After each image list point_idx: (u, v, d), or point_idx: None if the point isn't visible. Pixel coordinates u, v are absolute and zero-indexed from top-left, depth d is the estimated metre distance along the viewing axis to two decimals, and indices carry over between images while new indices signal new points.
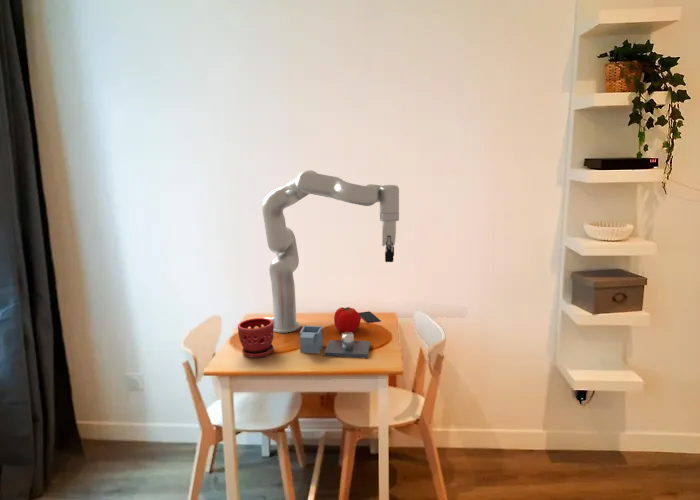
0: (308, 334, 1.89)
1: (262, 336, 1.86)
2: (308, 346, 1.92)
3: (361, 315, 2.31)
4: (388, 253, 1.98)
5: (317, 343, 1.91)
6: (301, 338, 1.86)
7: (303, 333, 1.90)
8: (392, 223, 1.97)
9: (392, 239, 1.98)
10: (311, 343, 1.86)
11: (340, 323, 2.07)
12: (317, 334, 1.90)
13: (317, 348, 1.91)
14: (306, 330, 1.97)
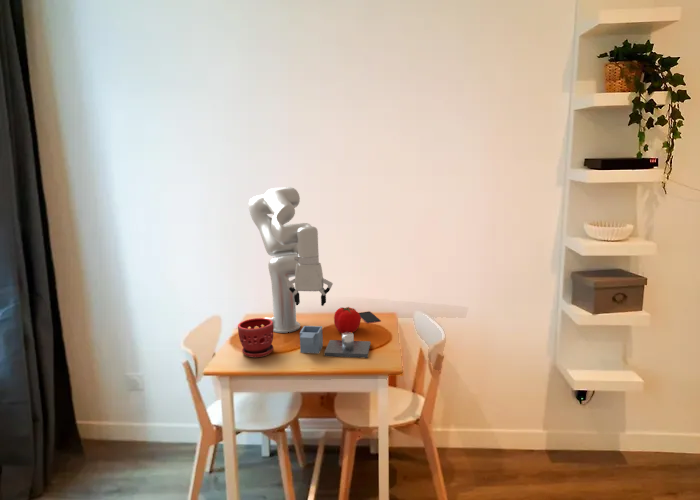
0: (308, 334, 1.89)
1: (262, 336, 1.86)
2: (308, 346, 1.92)
3: (361, 315, 2.31)
4: (325, 295, 1.90)
5: (317, 343, 1.91)
6: (301, 338, 1.86)
7: (303, 333, 1.90)
8: (320, 264, 1.89)
9: None
10: (311, 343, 1.86)
11: (340, 323, 2.07)
12: (317, 334, 1.90)
13: (317, 348, 1.91)
14: (306, 330, 1.97)
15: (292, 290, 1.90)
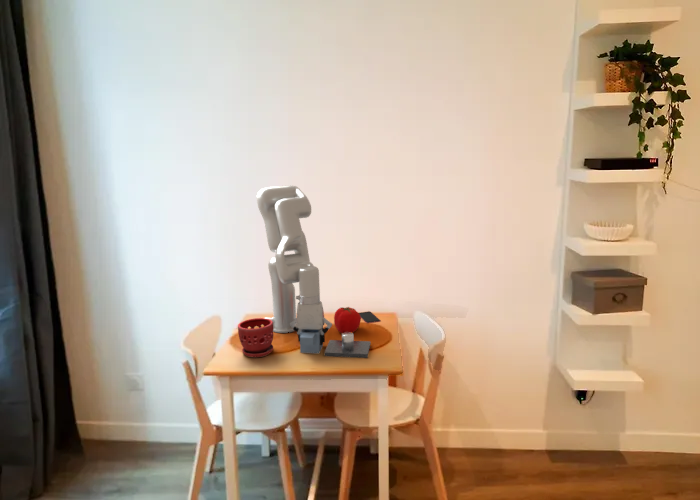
0: (308, 334, 1.89)
1: (261, 336, 1.86)
2: (308, 346, 1.92)
3: (361, 315, 2.31)
4: (323, 335, 1.93)
5: (317, 343, 1.91)
6: (301, 338, 1.86)
7: (303, 333, 1.90)
8: (321, 303, 1.92)
9: None
10: (311, 343, 1.86)
11: (340, 323, 2.07)
12: (317, 334, 1.90)
13: (317, 348, 1.91)
14: (306, 330, 1.97)
15: (296, 330, 1.94)
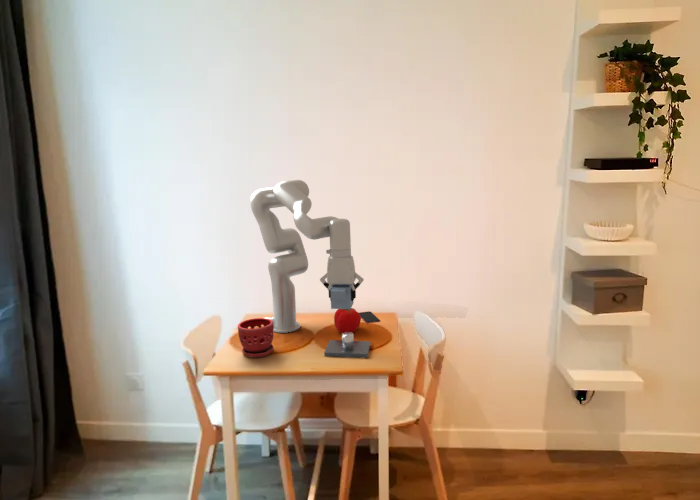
0: (339, 288, 1.83)
1: (262, 336, 1.86)
2: (339, 302, 1.86)
3: (361, 315, 2.31)
4: (355, 290, 1.87)
5: (348, 298, 1.85)
6: (332, 292, 1.81)
7: (334, 288, 1.84)
8: (352, 257, 1.87)
9: None
10: (343, 297, 1.80)
11: (340, 323, 2.07)
12: (348, 289, 1.84)
13: (348, 304, 1.85)
14: (336, 287, 1.92)
15: (326, 285, 1.88)
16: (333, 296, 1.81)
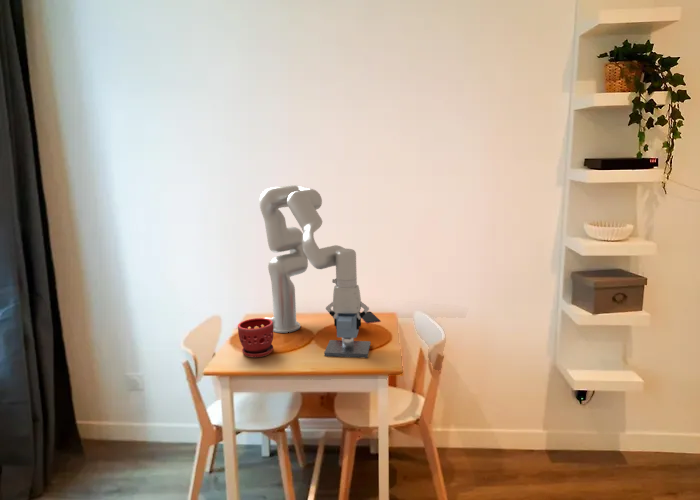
0: (345, 318, 1.85)
1: (262, 336, 1.86)
2: (345, 330, 1.88)
3: None
4: (360, 319, 1.90)
5: (354, 327, 1.87)
6: (339, 322, 1.83)
7: (340, 317, 1.86)
8: (358, 286, 1.89)
9: None
10: (349, 327, 1.83)
11: None
12: (354, 318, 1.86)
13: (354, 332, 1.88)
14: (342, 315, 1.94)
15: (332, 314, 1.90)
16: (339, 326, 1.83)
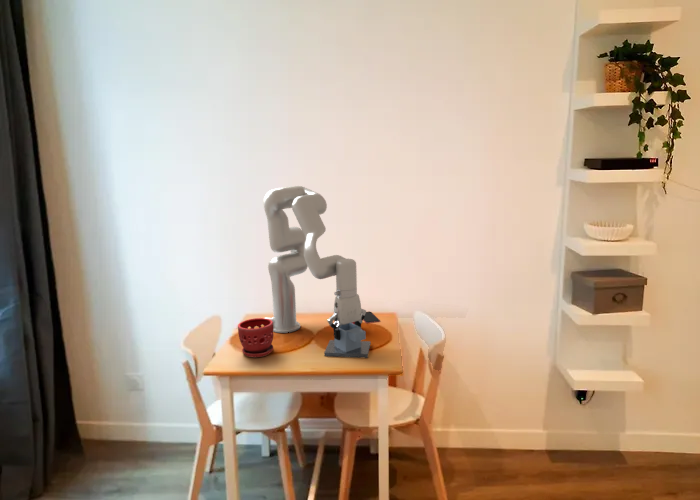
0: (355, 330, 1.88)
1: (261, 336, 1.86)
2: (352, 343, 1.90)
3: None
4: None
5: None
6: (356, 335, 1.84)
7: (349, 331, 1.87)
8: None
9: None
10: (364, 337, 1.87)
11: None
12: (359, 328, 1.91)
13: (359, 342, 1.92)
14: None
15: (334, 326, 1.87)
16: (356, 338, 1.85)
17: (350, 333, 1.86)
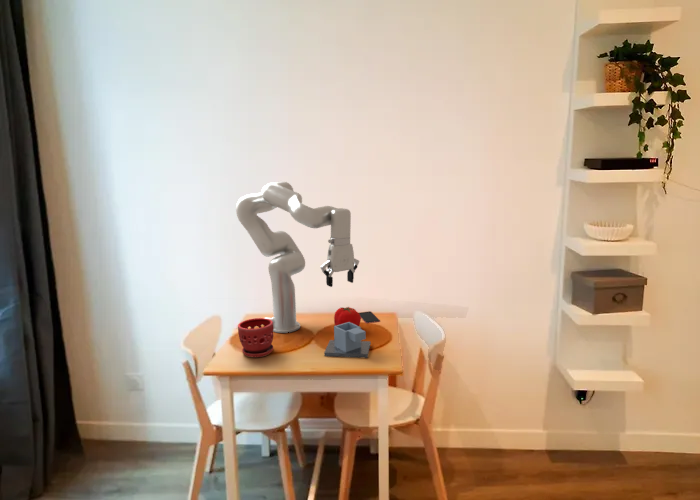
0: (355, 330, 1.88)
1: (261, 336, 1.86)
2: (352, 343, 1.90)
3: (361, 315, 2.31)
4: None
5: None
6: (356, 335, 1.84)
7: (349, 331, 1.87)
8: None
9: None
10: (364, 337, 1.87)
11: (340, 323, 2.07)
12: (359, 328, 1.91)
13: (359, 342, 1.92)
14: None
15: (327, 273, 1.94)
16: (356, 338, 1.85)
17: (350, 333, 1.86)
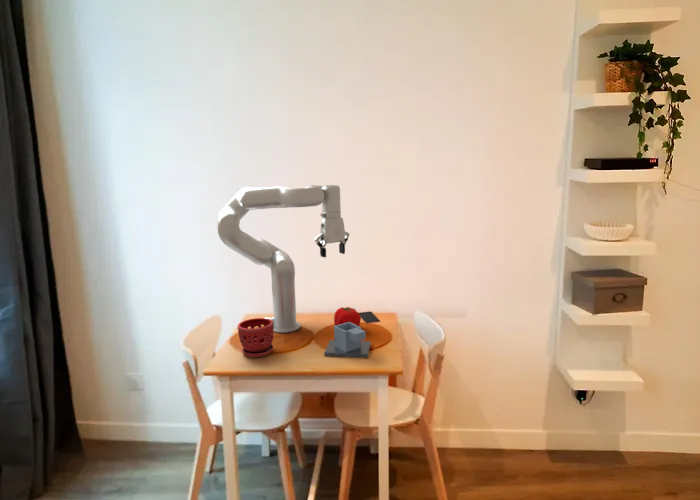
0: (355, 330, 1.88)
1: (261, 336, 1.86)
2: (352, 343, 1.90)
3: (361, 315, 2.31)
4: None
5: None
6: (356, 335, 1.84)
7: (349, 331, 1.87)
8: None
9: None
10: (364, 337, 1.87)
11: (340, 323, 2.07)
12: (359, 328, 1.91)
13: (359, 342, 1.92)
14: None
15: (320, 244, 2.11)
16: (356, 338, 1.85)
17: (350, 333, 1.86)
